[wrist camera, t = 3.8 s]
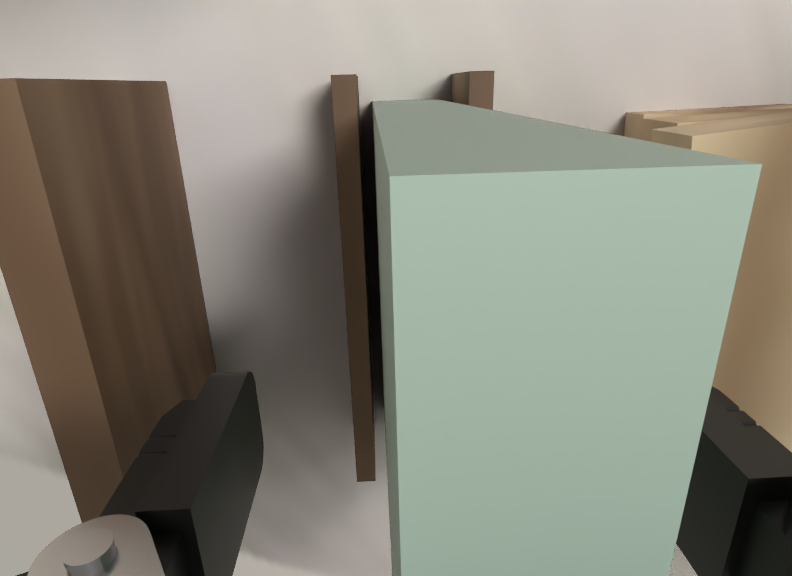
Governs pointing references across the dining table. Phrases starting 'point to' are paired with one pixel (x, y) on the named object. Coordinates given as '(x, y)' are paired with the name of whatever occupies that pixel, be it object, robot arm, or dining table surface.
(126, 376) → the walnut rack
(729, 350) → the offcut top
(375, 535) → the dining table surface
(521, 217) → the sage sheet
